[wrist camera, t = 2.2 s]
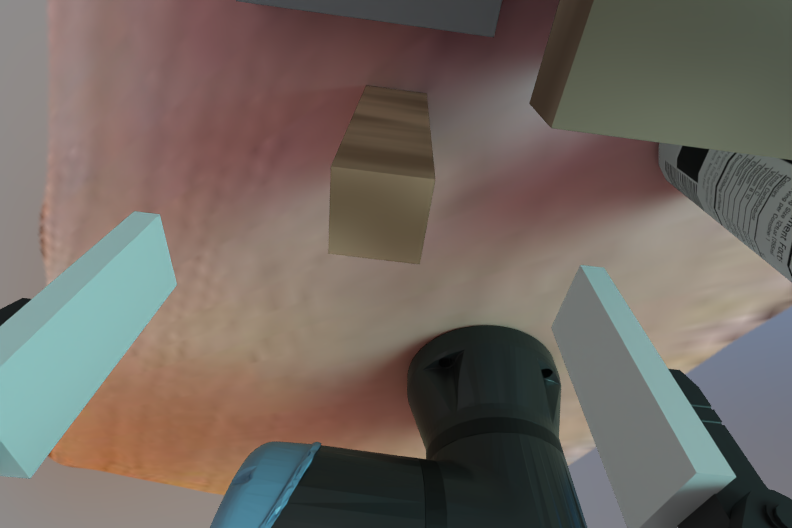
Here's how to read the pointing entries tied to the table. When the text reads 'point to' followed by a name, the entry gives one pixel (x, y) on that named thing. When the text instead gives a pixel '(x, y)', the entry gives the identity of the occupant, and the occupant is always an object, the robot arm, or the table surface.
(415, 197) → the peg
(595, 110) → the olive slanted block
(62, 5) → the table surface
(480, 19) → the socket
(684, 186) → the supplement can
